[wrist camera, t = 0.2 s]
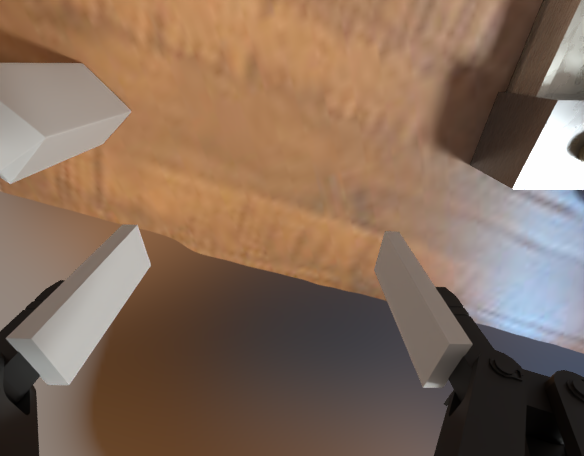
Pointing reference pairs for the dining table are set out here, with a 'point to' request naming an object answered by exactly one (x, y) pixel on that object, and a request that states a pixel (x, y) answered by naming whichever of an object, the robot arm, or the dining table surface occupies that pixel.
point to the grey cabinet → (541, 108)
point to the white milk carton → (52, 115)
